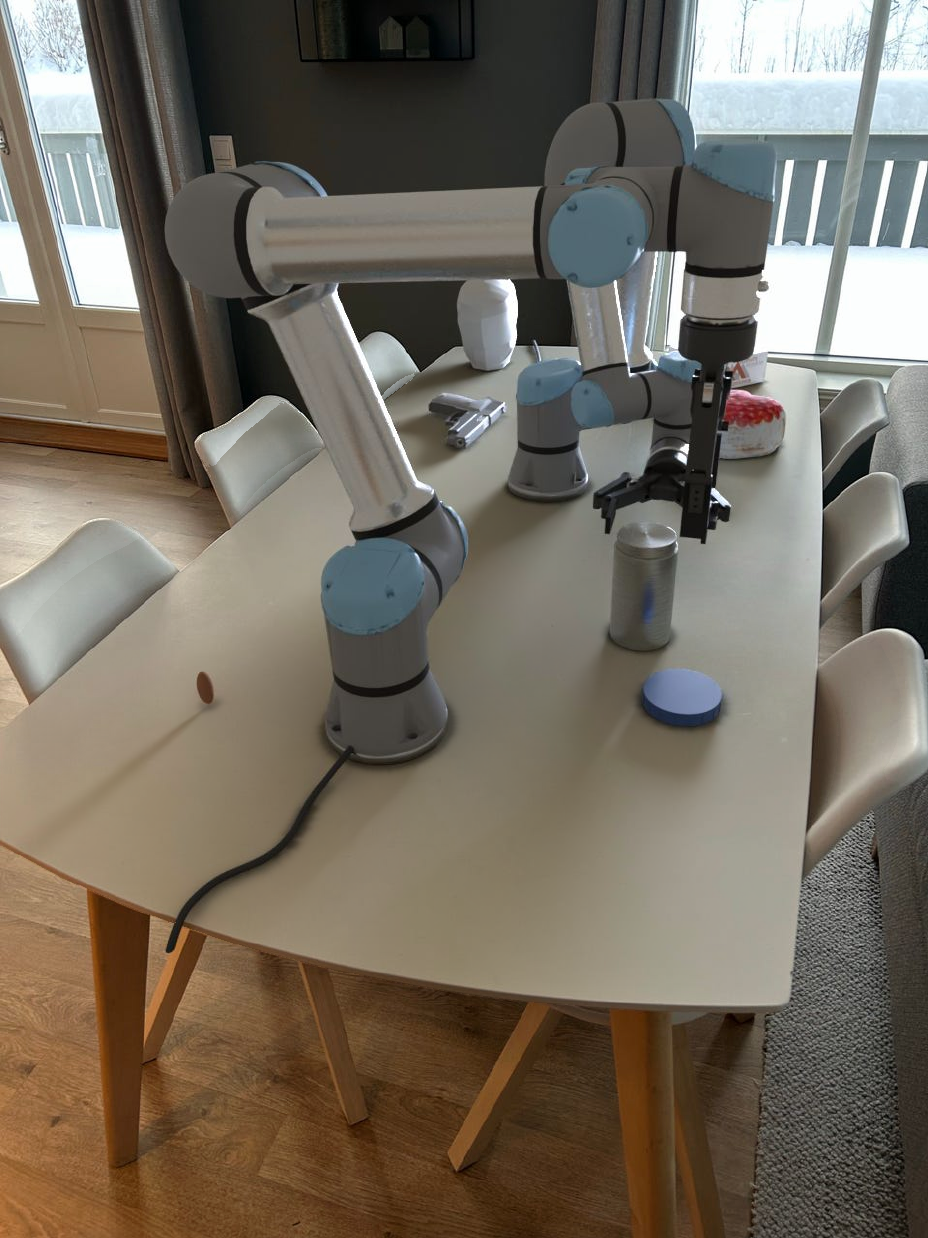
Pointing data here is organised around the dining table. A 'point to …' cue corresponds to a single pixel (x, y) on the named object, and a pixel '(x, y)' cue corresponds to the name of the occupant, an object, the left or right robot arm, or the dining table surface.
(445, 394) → the pistol
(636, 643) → the jar
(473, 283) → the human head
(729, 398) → the cake
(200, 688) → the brown oval piece
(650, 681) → the lid
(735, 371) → the white cardboard box
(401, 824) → the dining table surface
